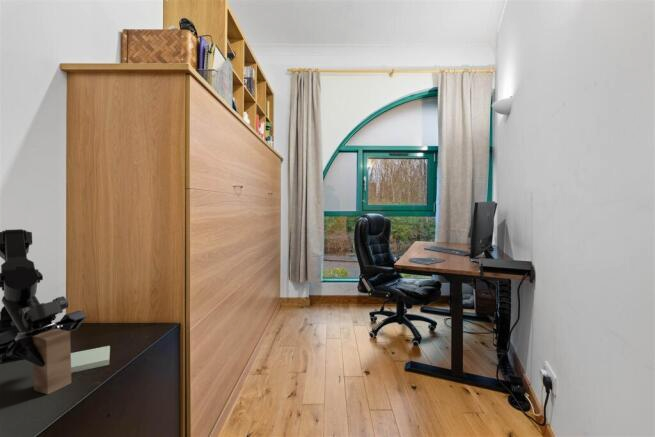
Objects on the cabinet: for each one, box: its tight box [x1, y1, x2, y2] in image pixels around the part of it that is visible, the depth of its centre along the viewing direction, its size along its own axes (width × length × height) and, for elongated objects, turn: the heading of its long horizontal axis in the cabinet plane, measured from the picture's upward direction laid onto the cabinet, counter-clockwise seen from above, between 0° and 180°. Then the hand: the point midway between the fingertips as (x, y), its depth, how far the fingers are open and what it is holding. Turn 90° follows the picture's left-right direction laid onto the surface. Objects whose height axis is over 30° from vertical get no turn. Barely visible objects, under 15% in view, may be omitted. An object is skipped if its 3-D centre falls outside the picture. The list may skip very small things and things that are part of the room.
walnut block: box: [32, 329, 72, 395], centre depth 76 cm, size 5×5×13 cm
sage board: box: [71, 345, 111, 374], centre depth 88 cm, size 10×10×2 cm
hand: (56, 360), depth 76 cm, fingers closed on walnut block, 5 cm apart
